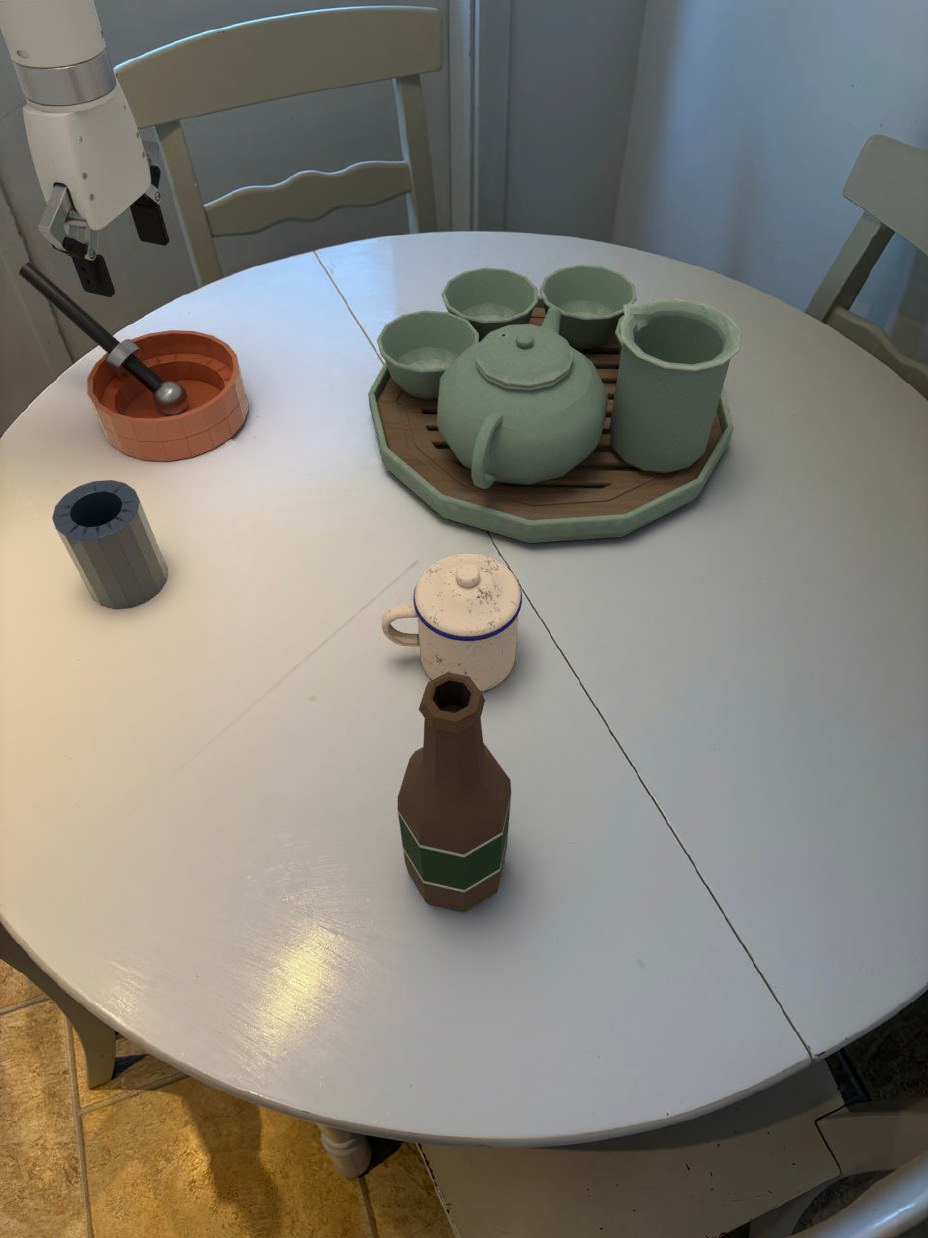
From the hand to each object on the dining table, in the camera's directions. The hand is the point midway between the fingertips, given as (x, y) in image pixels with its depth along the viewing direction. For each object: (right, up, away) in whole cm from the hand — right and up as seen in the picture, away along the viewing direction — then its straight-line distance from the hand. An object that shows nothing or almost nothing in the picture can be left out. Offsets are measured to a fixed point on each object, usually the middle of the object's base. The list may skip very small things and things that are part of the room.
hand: (128, 266), depth 87 cm
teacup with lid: (+32, -38, -6) cm, 50 cm away
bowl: (0, -11, +15) cm, 19 cm away
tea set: (+42, -12, +14) cm, 46 cm away
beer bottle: (+32, -54, -18) cm, 65 cm away
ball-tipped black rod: (+1, -11, +13) cm, 17 cm away
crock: (0, -31, -1) cm, 31 cm away
